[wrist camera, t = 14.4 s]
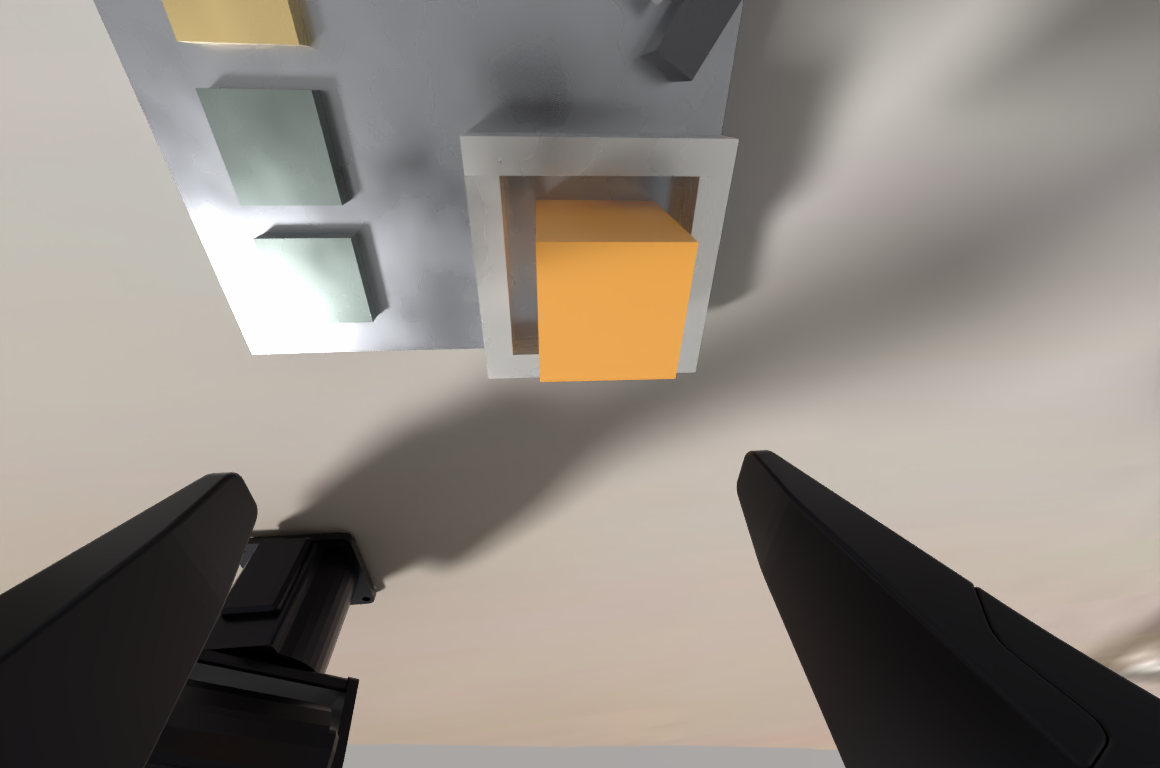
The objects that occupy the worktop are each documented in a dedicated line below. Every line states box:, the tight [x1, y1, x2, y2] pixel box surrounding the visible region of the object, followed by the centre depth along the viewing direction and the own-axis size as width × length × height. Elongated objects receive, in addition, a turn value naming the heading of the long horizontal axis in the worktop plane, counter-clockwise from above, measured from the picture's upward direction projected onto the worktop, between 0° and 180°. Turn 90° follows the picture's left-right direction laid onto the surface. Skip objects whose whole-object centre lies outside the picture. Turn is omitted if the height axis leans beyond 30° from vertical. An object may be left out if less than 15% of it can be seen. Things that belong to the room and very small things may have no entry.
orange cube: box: [536, 200, 699, 382], centre depth 14 cm, size 4×4×5 cm
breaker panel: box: [94, 0, 744, 379], centre depth 14 cm, size 16×17×4 cm
